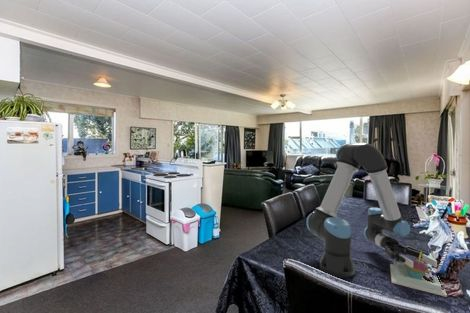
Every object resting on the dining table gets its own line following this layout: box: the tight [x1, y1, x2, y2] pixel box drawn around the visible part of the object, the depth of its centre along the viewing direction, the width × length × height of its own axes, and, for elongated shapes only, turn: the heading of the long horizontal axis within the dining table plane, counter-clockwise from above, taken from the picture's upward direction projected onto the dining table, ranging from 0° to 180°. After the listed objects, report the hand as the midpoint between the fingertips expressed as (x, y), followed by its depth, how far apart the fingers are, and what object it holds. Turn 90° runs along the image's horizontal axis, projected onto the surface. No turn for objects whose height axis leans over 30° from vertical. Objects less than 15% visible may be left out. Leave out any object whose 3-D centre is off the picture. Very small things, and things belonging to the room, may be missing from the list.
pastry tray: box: [389, 260, 448, 298], centre depth 104 cm, size 18×18×3 cm
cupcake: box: [404, 250, 429, 280], centre depth 104 cm, size 9×8×12 cm
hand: (424, 264), depth 99 cm, fingers open, 10 cm apart
